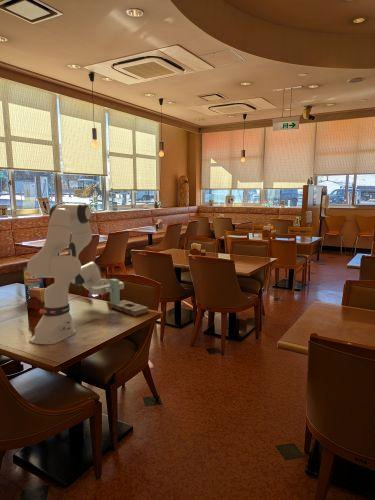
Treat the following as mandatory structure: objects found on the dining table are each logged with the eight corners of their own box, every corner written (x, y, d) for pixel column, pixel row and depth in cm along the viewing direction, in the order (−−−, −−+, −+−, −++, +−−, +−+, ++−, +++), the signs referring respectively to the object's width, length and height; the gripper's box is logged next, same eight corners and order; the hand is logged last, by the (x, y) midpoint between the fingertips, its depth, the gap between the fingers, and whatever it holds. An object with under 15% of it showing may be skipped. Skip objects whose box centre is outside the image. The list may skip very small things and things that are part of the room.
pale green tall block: (119, 303, 206) (119, 279, 204) (115, 305, 203) (114, 280, 201) (114, 302, 209) (113, 278, 207) (110, 303, 207) (109, 279, 205)
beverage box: (44, 301, 233) (42, 268, 230) (25, 303, 229) (23, 269, 226) (44, 298, 239) (41, 266, 236) (26, 300, 235) (23, 267, 232)
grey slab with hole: (148, 312, 211) (148, 307, 211) (134, 316, 204) (134, 311, 203) (124, 304, 226) (124, 299, 225) (111, 308, 219) (111, 303, 218)
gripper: (85, 284, 206) (99, 287, 196) (115, 278, 221) (129, 281, 211) (86, 294, 207) (100, 299, 197) (115, 288, 221) (129, 292, 212)
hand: (115, 290), depth 204 cm, fingers closed on pale green tall block, 3 cm apart
